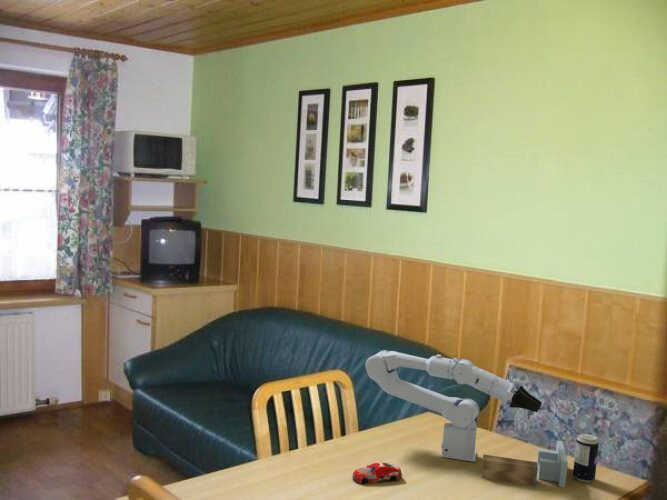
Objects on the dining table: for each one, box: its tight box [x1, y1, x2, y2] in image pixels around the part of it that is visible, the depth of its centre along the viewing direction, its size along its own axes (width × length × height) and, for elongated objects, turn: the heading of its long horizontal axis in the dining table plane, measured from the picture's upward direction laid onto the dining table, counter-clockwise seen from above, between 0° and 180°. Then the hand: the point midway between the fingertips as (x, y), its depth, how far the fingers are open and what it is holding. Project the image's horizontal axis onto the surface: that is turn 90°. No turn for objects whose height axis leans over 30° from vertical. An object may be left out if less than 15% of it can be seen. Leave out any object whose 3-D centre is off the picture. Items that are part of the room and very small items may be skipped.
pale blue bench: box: [537, 440, 569, 489], centre depth 192 cm, size 6×16×7 cm, turn 167°
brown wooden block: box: [481, 454, 538, 487], centre depth 187 cm, size 14×4×5 cm, turn 77°
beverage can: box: [572, 432, 600, 483], centre depth 190 cm, size 6×6×12 cm
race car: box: [351, 462, 403, 485], centre depth 181 cm, size 13×5×4 cm, turn 108°
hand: (539, 407), depth 192 cm, fingers open, 7 cm apart
